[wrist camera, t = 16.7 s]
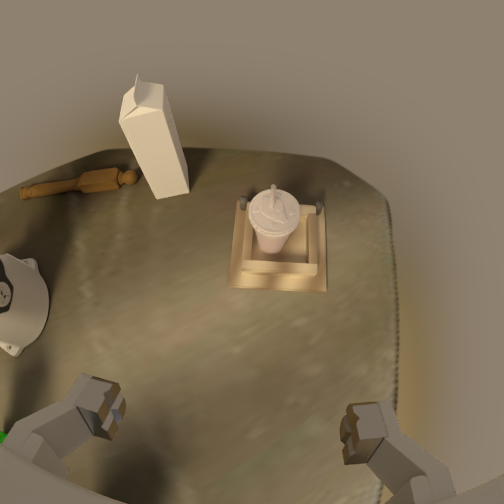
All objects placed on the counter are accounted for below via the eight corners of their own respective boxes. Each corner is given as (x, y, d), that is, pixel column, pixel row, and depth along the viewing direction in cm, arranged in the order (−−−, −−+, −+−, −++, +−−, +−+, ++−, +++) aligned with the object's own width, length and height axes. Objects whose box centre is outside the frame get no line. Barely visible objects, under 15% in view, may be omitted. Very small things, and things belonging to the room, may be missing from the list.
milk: (156, 200, 50) (108, 104, 29) (156, 173, 52) (115, 78, 32) (190, 192, 50) (156, 90, 30) (188, 166, 52) (158, 66, 32)
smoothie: (274, 216, 47) (280, 158, 34) (301, 246, 45) (318, 194, 32) (241, 239, 45) (235, 185, 32) (268, 271, 43) (273, 226, 30)
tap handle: (21, 184, 50) (135, 165, 49) (28, 191, 53) (140, 175, 52) (16, 196, 49) (132, 178, 48) (24, 203, 52) (137, 188, 51)
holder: (228, 287, 43) (226, 279, 40) (237, 204, 49) (236, 192, 46) (325, 292, 43) (330, 285, 40) (322, 209, 48) (327, 197, 45)
